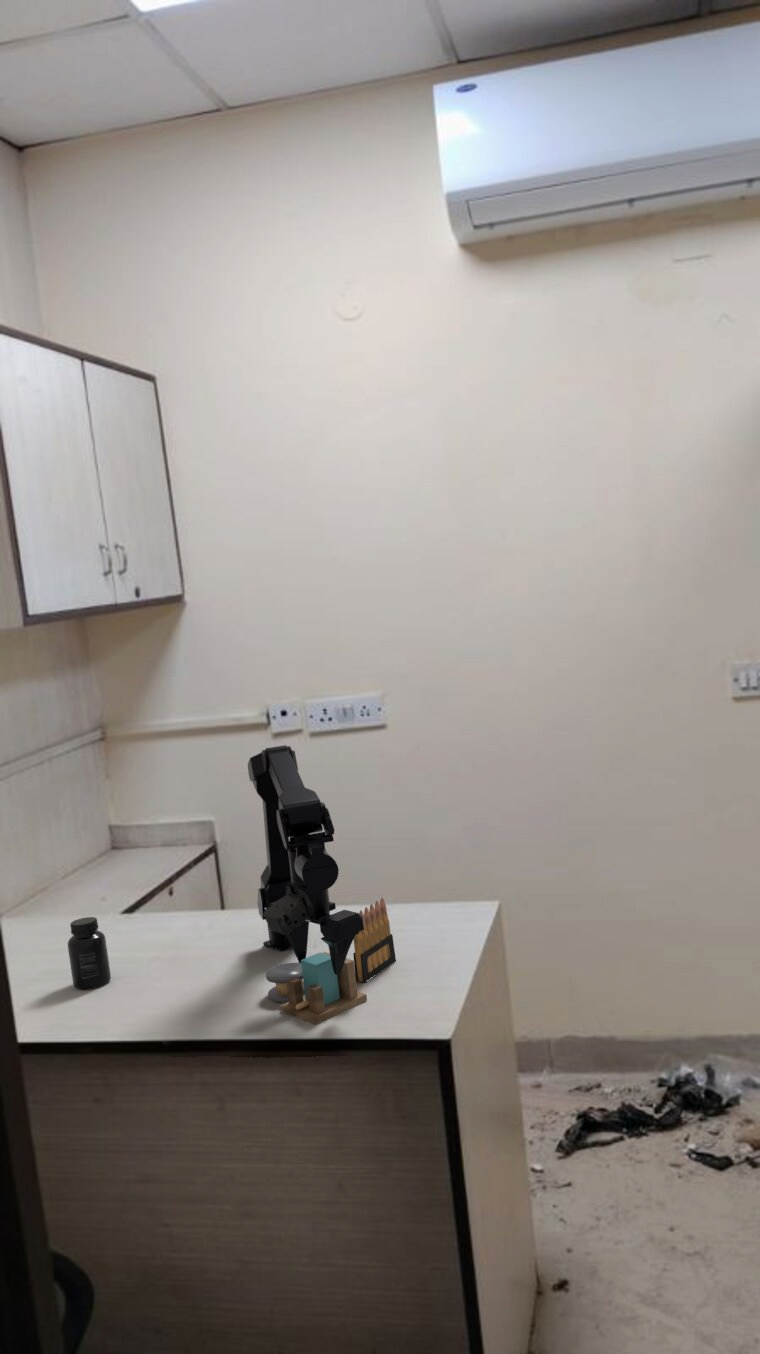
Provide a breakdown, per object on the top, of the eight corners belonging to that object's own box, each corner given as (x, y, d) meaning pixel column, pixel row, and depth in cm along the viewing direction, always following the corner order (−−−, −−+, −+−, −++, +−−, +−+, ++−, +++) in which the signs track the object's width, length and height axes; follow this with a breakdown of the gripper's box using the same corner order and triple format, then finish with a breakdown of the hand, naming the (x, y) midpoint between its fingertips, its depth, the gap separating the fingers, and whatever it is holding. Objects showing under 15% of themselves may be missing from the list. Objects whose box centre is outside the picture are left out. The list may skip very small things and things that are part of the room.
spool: (259, 996, 176) (256, 973, 176) (294, 981, 181) (291, 959, 181) (286, 1006, 171) (283, 983, 170) (321, 990, 176) (319, 968, 175)
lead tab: (289, 1008, 167) (283, 966, 167) (324, 993, 172) (319, 952, 172) (304, 1014, 164) (299, 972, 164) (339, 998, 169) (335, 957, 169)
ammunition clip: (364, 983, 177) (356, 915, 176) (355, 982, 178) (347, 914, 177) (396, 960, 186) (389, 896, 185) (387, 959, 187) (380, 895, 186)
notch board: (280, 1011, 169) (275, 969, 168) (332, 988, 176) (327, 948, 176) (315, 1024, 162) (310, 981, 162) (367, 1000, 170) (362, 958, 169)
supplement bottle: (118, 976, 193) (110, 914, 192) (97, 991, 187) (88, 927, 186) (87, 976, 196) (79, 914, 195) (65, 990, 189) (56, 927, 188)
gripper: (234, 880, 169) (246, 972, 170) (305, 897, 155) (317, 997, 156) (288, 863, 176) (299, 951, 178) (360, 877, 163) (371, 973, 164)
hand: (319, 968), depth 169 cm, fingers open, 9 cm apart
